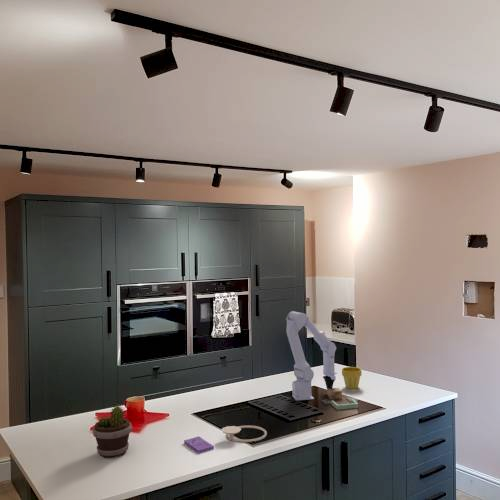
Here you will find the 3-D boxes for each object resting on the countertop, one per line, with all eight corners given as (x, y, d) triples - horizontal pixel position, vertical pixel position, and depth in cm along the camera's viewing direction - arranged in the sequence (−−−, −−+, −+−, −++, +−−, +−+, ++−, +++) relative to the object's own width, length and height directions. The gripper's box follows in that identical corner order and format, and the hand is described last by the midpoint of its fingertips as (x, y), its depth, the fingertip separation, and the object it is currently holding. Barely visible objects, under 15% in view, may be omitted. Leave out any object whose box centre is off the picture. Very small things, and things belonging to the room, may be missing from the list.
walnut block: (330, 399, 258) (330, 391, 258) (327, 396, 264) (327, 388, 264) (342, 399, 258) (341, 391, 258) (338, 395, 264) (338, 387, 264)
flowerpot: (85, 454, 198) (83, 402, 198) (121, 442, 209) (119, 393, 209) (104, 465, 188) (102, 410, 187) (140, 452, 198) (138, 400, 198)
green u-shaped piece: (331, 410, 241) (331, 405, 241) (322, 401, 255) (321, 397, 255) (364, 407, 244) (363, 403, 244) (353, 398, 258) (352, 394, 258)
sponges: (199, 440, 210) (199, 436, 210) (214, 450, 199) (214, 445, 199) (183, 444, 206) (183, 440, 206) (198, 454, 196) (198, 449, 195)
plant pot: (363, 389, 273) (363, 371, 273) (344, 390, 273) (343, 371, 273) (359, 384, 283) (359, 366, 283) (340, 384, 284) (340, 366, 284)
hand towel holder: (275, 425, 212) (236, 438, 199) (275, 435, 212) (236, 449, 199) (249, 415, 225) (210, 426, 212) (249, 425, 225) (211, 437, 212)
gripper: (340, 366, 262) (341, 393, 262) (331, 360, 277) (332, 385, 277) (327, 367, 261) (328, 394, 261) (319, 361, 275) (319, 386, 275)
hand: (329, 390), depth 269 cm, fingers closed
